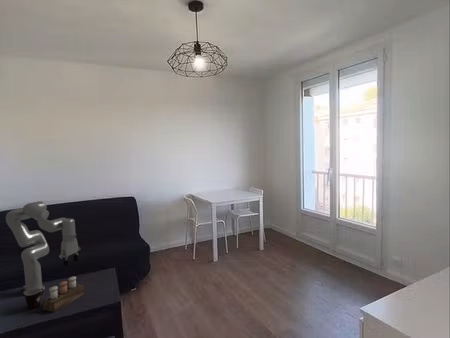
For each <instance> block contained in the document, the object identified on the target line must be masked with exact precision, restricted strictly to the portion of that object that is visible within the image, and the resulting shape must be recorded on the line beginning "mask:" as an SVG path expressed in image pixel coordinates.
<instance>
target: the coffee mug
mask: <svg viewBox="0 0 450 338" xmlns="http://www.w3.org/2000/svg"><path fill="white" fill-rule="evenodd" d="M41 290H42V292H41ZM43 294H44V290H43V289H39V288H37V289H32V290H29V291H27V292H26V293H25V295H24V298H25V302H26V306H27V309H28V310H27V311H34V310H36V309H38V308H40V306H41V301H42V300H41V299H42V295H43Z"/></svg>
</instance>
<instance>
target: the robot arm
mask: <svg viewBox="0 0 450 338" xmlns="http://www.w3.org/2000/svg"><path fill="white" fill-rule="evenodd" d="M47 208H48V206H47V204H46V203H45V202H43V201H34V202H28V203H26V204H25V205H24V206H23V207H21V208H16V209H12V210H10V211H9V212H7V214H6V215H5V221H6V224H7V226H8V227H9V229H10V230H11V232H12V234H13V235H14V238H15V240H16V241H17V244H18V246H19V247H20V248H25V247H27V248H25V249H24V250H23V251H22V252H21V254H20V257H21V261H22V265H23V271H24V281H25V282H24V284H25V285H23V286H22V287H23V288H24V291H23V295H24V296H25V293H26V292H27V291H29V290H32V289H37V288H39V289H43V291H45V290H46V287H45V285H43V281H42V279H43V277H42V270H41V269H42V268H41V264H40V262H39V259H40V258H42V257H46V256H47V255H48V254H49V253H50V246H49V244H48V242H47V240H46V238H45V235H44V234H43V232H42V231H40V230H37V229H35V230H29V228H28V226H27V225H26V224H25V223H24V222H22V221H25V220H28V219H31V218H32V219H34V220H36V221H37V224H38V227H39V228H40V229H41V230H43V231H46V232H48V233H54V232H57V231H61V233H62V241H61V245H60V254H59V255H58V257H59V258H60V259H61V260H62V262H63V267H69V260H68V258H69V256H71V255H73V262H79V254H80V252H81V247H80V246H79V244H78V240H77V239H78V238H77V237H76V236H77V233H76V223H75V221H76V220H75V219H74V218H67V217H60V218H55V219H51V220H49V219H48V217H49V215H50V212H49V210H47ZM32 245H33V246H32ZM41 293H42V290H41Z"/></svg>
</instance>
